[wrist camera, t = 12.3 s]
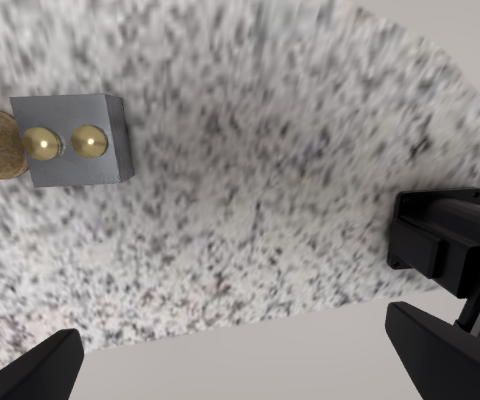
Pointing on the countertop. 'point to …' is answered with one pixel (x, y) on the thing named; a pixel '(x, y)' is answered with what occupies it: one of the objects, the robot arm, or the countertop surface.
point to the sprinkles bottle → (11, 149)
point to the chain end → (74, 139)
